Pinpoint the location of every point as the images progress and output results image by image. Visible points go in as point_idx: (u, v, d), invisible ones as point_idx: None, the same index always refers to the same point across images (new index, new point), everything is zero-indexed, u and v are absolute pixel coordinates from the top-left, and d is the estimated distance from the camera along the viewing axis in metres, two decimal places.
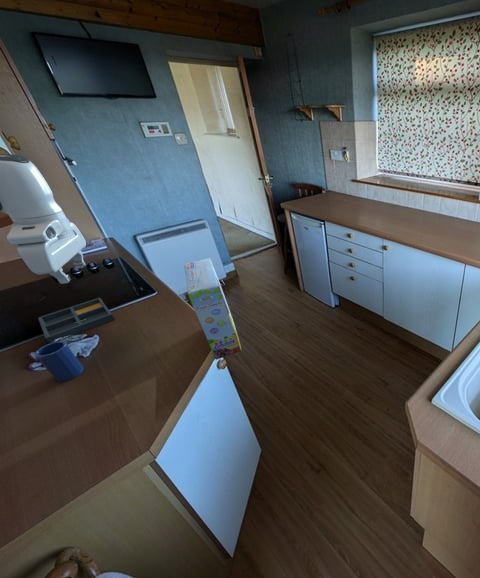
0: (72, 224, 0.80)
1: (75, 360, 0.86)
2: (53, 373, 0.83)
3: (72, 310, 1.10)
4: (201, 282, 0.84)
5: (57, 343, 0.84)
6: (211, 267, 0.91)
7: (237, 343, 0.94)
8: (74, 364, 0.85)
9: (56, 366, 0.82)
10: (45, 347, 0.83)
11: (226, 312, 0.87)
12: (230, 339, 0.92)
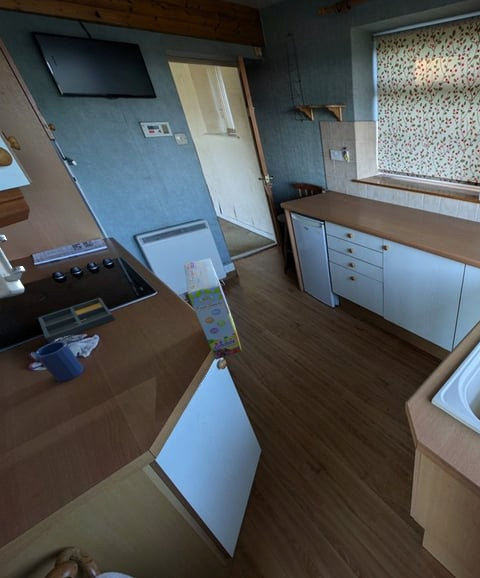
0: None
1: (75, 360, 0.86)
2: (53, 373, 0.83)
3: (72, 310, 1.10)
4: (201, 282, 0.84)
5: (57, 343, 0.84)
6: (211, 267, 0.91)
7: (237, 343, 0.94)
8: (74, 364, 0.85)
9: (56, 366, 0.82)
10: (45, 347, 0.83)
11: (226, 312, 0.87)
12: (230, 339, 0.92)
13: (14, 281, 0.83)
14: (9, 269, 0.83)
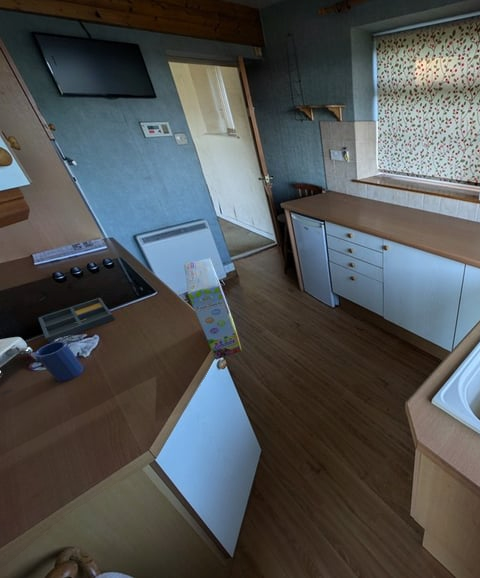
0: None
1: (75, 360, 0.86)
2: (53, 373, 0.83)
3: (72, 310, 1.10)
4: (201, 282, 0.84)
5: (57, 343, 0.84)
6: (211, 267, 0.91)
7: (237, 343, 0.94)
8: (74, 364, 0.85)
9: (56, 366, 0.82)
10: (45, 347, 0.83)
11: (226, 312, 0.87)
12: (230, 339, 0.92)
13: None
14: None
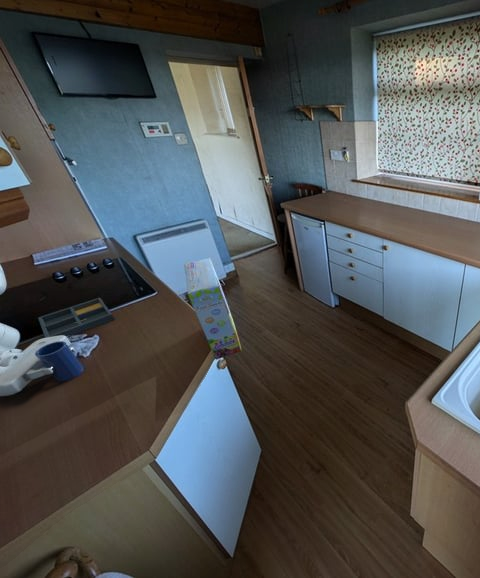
0: (36, 341, 0.88)
1: (75, 360, 0.86)
2: (53, 373, 0.83)
3: (72, 310, 1.10)
4: (201, 282, 0.84)
5: (57, 343, 0.84)
6: (211, 267, 0.91)
7: (237, 343, 0.94)
8: (74, 364, 0.85)
9: (56, 366, 0.82)
10: (45, 347, 0.83)
11: (226, 312, 0.87)
12: (230, 339, 0.92)
13: (24, 380, 0.78)
14: None
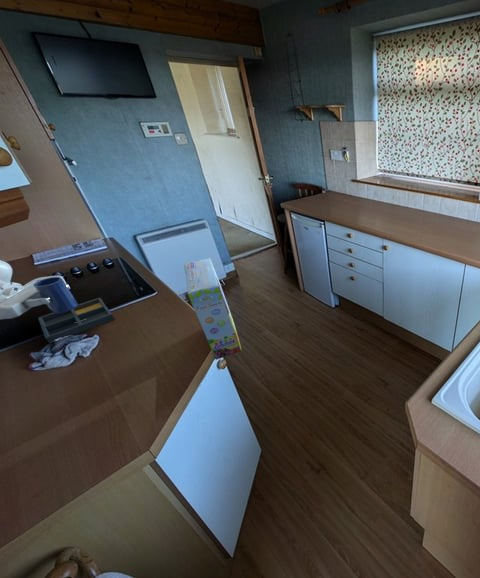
0: (35, 279, 0.98)
1: (70, 295, 0.95)
2: (49, 304, 0.92)
3: (72, 310, 1.10)
4: (201, 282, 0.84)
5: (54, 278, 0.94)
6: (211, 267, 0.91)
7: (237, 343, 0.94)
8: (69, 298, 0.95)
9: (52, 297, 0.91)
10: (43, 281, 0.92)
11: (226, 312, 0.87)
12: (230, 339, 0.92)
13: (24, 307, 0.87)
14: None
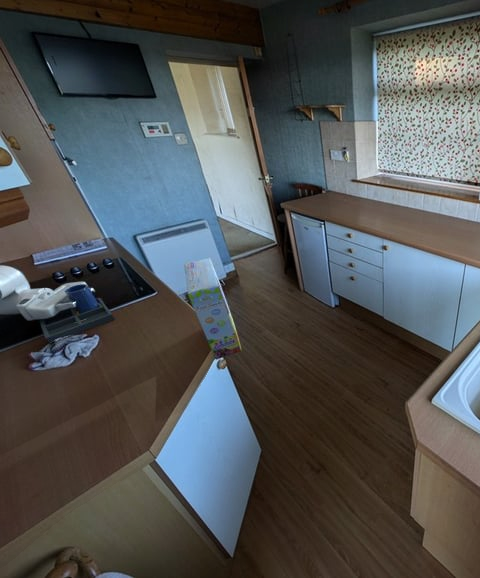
0: (62, 285, 1.14)
1: (94, 299, 1.12)
2: (78, 307, 1.09)
3: (72, 310, 1.10)
4: (201, 282, 0.84)
5: (80, 285, 1.10)
6: (211, 267, 0.91)
7: (237, 343, 0.94)
8: (93, 302, 1.11)
9: (80, 302, 1.08)
10: (71, 287, 1.09)
11: (226, 312, 0.87)
12: (230, 339, 0.92)
13: (56, 309, 1.04)
14: None
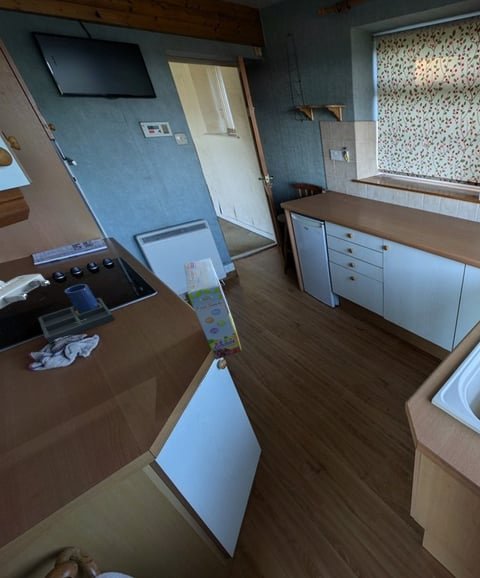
0: (16, 277, 1.10)
1: (94, 299, 1.12)
2: (78, 307, 1.09)
3: (72, 310, 1.10)
4: (201, 282, 0.84)
5: (80, 285, 1.10)
6: (211, 267, 0.91)
7: (237, 343, 0.94)
8: (93, 302, 1.11)
9: (80, 302, 1.08)
10: (71, 287, 1.09)
11: (226, 312, 0.87)
12: (230, 339, 0.92)
13: (5, 301, 0.99)
14: None
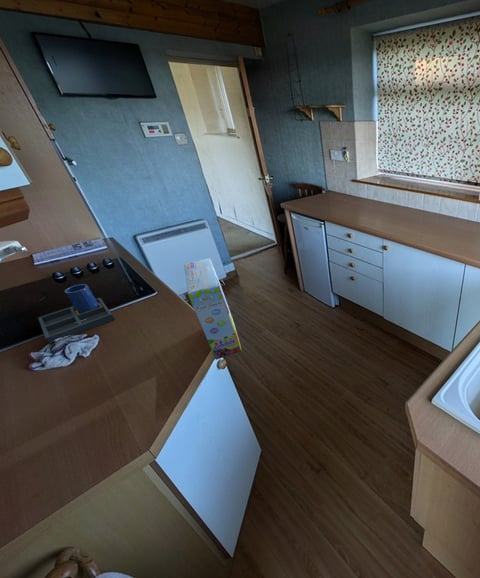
0: None
1: (94, 299, 1.12)
2: (78, 307, 1.09)
3: (72, 310, 1.10)
4: (201, 282, 0.84)
5: (80, 285, 1.10)
6: (211, 267, 0.91)
7: (237, 343, 0.94)
8: (93, 302, 1.11)
9: (80, 302, 1.08)
10: (71, 287, 1.09)
11: (226, 312, 0.87)
12: (230, 339, 0.92)
13: None
14: None
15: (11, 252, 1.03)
